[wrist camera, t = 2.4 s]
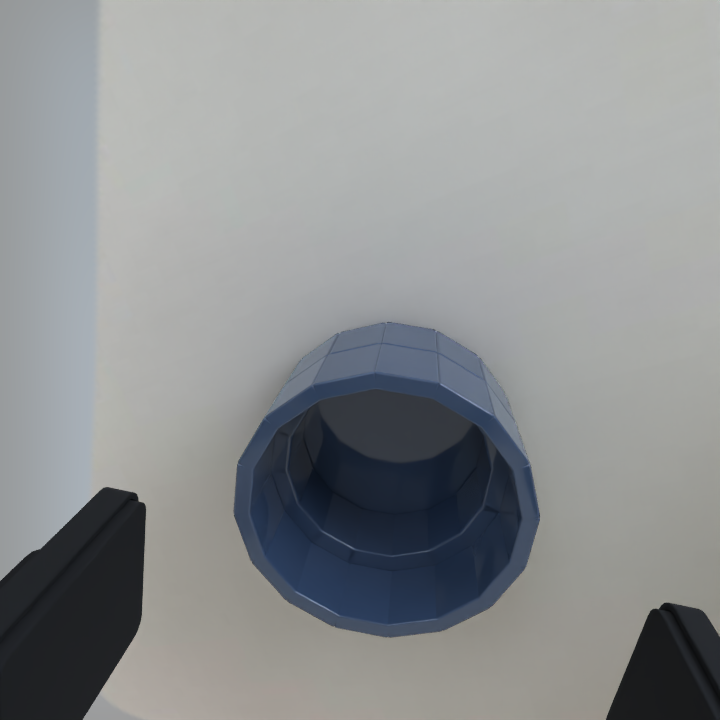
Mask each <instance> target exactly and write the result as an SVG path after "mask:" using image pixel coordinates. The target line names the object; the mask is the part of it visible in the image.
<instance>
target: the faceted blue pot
mask: <svg viewBox="0 0 720 720" xmlns="http://www.w3.org/2000/svg"><path fill="white" fill-rule="evenodd" d="M234 517H235V519H236V522H237V525H238V527H239V530H240V533H241V536H242V538H243V541H244V544H245V546H246V549H247V552H248V554H249V557H250V560H251V561H252V563H253V564H254V566H255V567H256V568H257V569H258V570H259V571H260V572H261V573H262V574H263V576H264V577H265V578H266V579H267V580H268V581H269V582H270V583H271V584H272V586H273V587H274V588H275V589H276V590H277V591H278V592H279V593H280V594H281V596H282V597H283V598H284V599H285V600H287V601H288V602H289V603H291V604H293V605H295V606H296V607H298V608H300V609H302V610H304V611H305V612H307V613H309V614H311V615H313V616H315V617H316V618H318V619H320V620H322V621H324V622H325V623H327V624H329V625H331V626H335V627H336V628H341V629H346V630H351V631H356V632H361V633H366V634H371V635H376V636H382V637H390V638H391V637H399V636H407V635H416V634H424V633H432V632H440V631H442V630H443V631H444V630H446V629H448V628H450V627H452V626H454V625H456V624H458V623H460V622H463V621H465V620H467V619H469V618H471V617H473V616H475V615H477V614H479V613H481V612H483V611H485V610H487V609H489V608H490V607H491V606H493V605H494V603H495V602H496V601H497V600H498V599H499V598H500V597H501V596H502V594H503V593H504V592H505V591H506V590H507V589H508V588H509V586H510V585H511V584H512V583H513V582H514V581H515V580H516V579H517V577H518V576H519V575H520V574H521V573H522V572H523V571H524V569H525V567H526V565H527V562H528V559H529V555H530V552H531V548H532V545H533V541H534V538H535V534H536V531H537V528H538V524H539V521H540V513H539V507H538V502H537V497H536V491H535V486H534V481H533V475H532V470H531V465H530V462H529V459H528V456H527V453H526V451H525V448H524V445H523V442H522V439H521V436H520V433H519V430H518V427H517V425H516V422H515V419H514V416H513V414H512V411H511V408H510V405H509V402H508V399H507V397H506V395H505V392H504V390H503V389H502V388H501V386H500V385H499V383H498V382H497V381H496V379H495V378H494V376H493V375H492V374H491V372H490V371H489V369H488V368H487V367H486V365H485V364H484V362H483V361H482V360H481V358H479V357H478V356H477V355H476V354H475V353H473V352H472V351H470V350H468V349H467V348H465V347H463V346H462V345H460V344H459V343H457V342H455V341H454V340H452V339H450V338H449V337H447V336H445V335H444V334H442V333H440V332H438V331H436V330H434V329H428V328H422V327H416V326H410V325H404V324H398V323H392V322H387V323H380V324H375V325H371V326H366V327H362V328H357V329H353V330H348V331H344V332H341V333H340V334H339V333H337V334H335V335H334V336H333V337H331V338H330V339H328V340H327V341H326V342H324V343H323V344H321V345H320V346H319V347H317V348H316V349H314V350H313V351H311V352H310V353H309V354H307V355H306V356H304V357H303V358H302V359H301V360H300V361H299V363H298V364H297V366H296V368H295V369H294V371H293V372H292V374H291V376H290V377H289V379H288V380H287V382H286V383H285V385H284V387H283V388H282V390H281V391H280V393H279V395H278V396H277V398H276V399H275V401H274V402H273V404H272V406H271V407H270V409H269V410H268V412H267V414H266V415H265V417H264V418H263V420H262V422H261V423H260V425H259V427H258V428H257V430H256V432H255V434H254V435H253V437H252V439H251V440H250V442H249V444H248V445H247V447H246V449H245V451H244V452H243V454H242V456H241V457H240V459H239V461H238V464H237V474H236V487H235V500H234Z"/></svg>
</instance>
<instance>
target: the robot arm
mask: <svg viewBox="0 0 720 720" xmlns="http://www.w3.org/2000/svg"><path fill="white" fill-rule="evenodd" d="M145 520H146V506H145V504H144V503H142V502H138V496H137V494H136V493H133V492H128V491H123V490H119V489H114V488H109V487H106V488H103V489H102V490H100V491H99V492H98V493H97V494H96V495H95V496H94V497H93V498H92V499H91V500H90V501H89V502H88V503H87V504H86V505H85V506H84V507H83V508H82V509H81V510H80V511H79V512H78V513H77V514H76V515H75V516H74V517H73V518H72V519H71V520H70V521H69V522H68V523H67V524H66V525H65V526H64V527H63V528H62V529H61V530H60V531H59V532H58V533H57V534H56V535H55V536H54V537H53V538H52V539H51V540H49V541H48V542H47V543H46V544H45V546H43V547H42V548H41V549H39V550H36V551H33V552H31V553H30V554H29V555H27V556H26V557H25V558H24V559H23V560H22V561H21V562H20V563H19V564H18V565H17V566H16V567H14V569H12V570H11V571H10V572H9V573H8V574H7V575H6V576H5V577H4V578H3V579H2V580H1V581H0V720H83V718H84V716H85V715H86V713H87V712H88V710H89V709H90V707H91V705H92V704H93V702H94V701H95V699H96V697H97V696H98V694H99V693H100V691H101V689H102V688H103V686H104V685H105V683H106V681H107V680H108V678H109V677H110V675H111V674H112V672H113V670H114V669H115V667H116V666H117V664H118V662H119V661H120V659H121V658H122V656H123V654H124V653H125V651H126V650H127V648H128V646H129V645H130V643H131V642H132V640H133V638H134V637H135V635H136V633H137V631H138V628H139V625H140V622H141V616H142V596H143V571H144V546H145ZM606 720H720V637H719V635H718V634H717V632H716V630H715V629H714V627H713V625H712V624H711V622H710V621H709V619H708V617H707V616H706V615H705V613H704V612H703V611H701V610H700V609H696V608H691V607H687V606H682V605H677V604H672V603H664V604H663V605H661V607H660V608H659V609H653V610H651V611H650V613H649V615H648V617H647V620H646V622H645V624H644V627H643V629H642V632H641V634H640V637H639V639H638V642H637V644H636V646H635V649H634V651H633V654H632V656H631V659H630V661H629V664H628V666H627V668H626V671H625V673H624V676H623V678H622V681H621V683H620V686H619V688H618V690H617V693H616V695H615V698H614V700H613V703H612V705H611V707H610V710H609V712H608V715H607V718H606Z"/></svg>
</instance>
